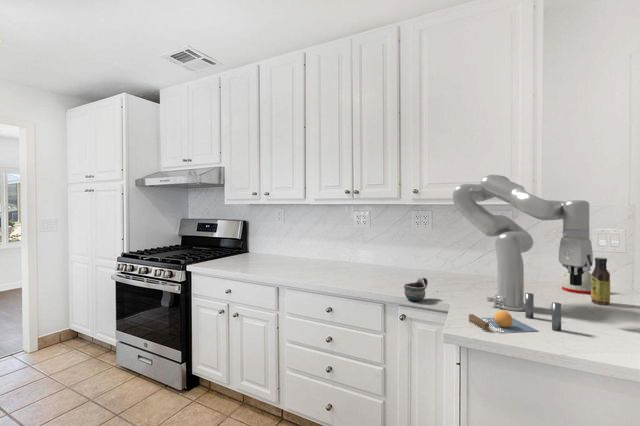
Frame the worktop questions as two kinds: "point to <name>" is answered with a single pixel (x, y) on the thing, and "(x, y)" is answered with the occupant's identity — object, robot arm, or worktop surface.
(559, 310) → the edge side post
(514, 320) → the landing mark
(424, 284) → the mug
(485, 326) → the wall
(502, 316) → the ball
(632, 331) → the worktop surface
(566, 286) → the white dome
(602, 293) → the sauce bottle
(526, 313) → the base side post
